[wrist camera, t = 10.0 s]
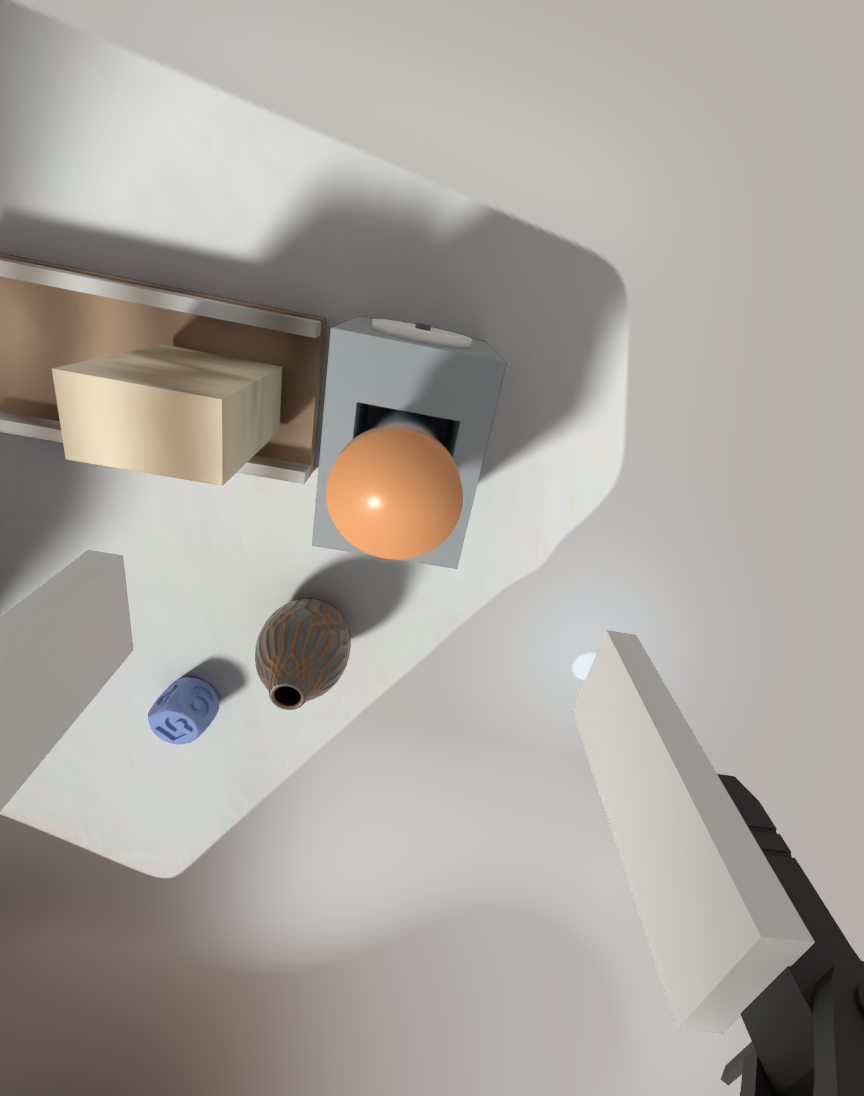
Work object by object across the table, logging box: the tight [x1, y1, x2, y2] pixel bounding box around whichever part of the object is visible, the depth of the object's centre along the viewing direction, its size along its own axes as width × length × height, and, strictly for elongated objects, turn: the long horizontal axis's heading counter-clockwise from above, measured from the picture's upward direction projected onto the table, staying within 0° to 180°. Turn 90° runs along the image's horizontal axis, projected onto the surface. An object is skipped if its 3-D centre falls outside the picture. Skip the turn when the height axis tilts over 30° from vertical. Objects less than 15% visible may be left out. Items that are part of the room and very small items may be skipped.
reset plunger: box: [326, 409, 463, 559], centre depth 24 cm, size 6×6×8 cm
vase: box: [255, 599, 351, 710], centre depth 38 cm, size 7×7×9 cm
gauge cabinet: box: [312, 316, 507, 569], centre depth 29 cm, size 8×12×10 cm
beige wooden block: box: [52, 344, 282, 486], centre depth 27 cm, size 7×4×10 cm, turn 79°
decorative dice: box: [148, 677, 219, 744], centre depth 44 cm, size 4×4×4 cm
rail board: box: [0, 253, 326, 484], centre depth 31 cm, size 20×10×3 cm, turn 79°
